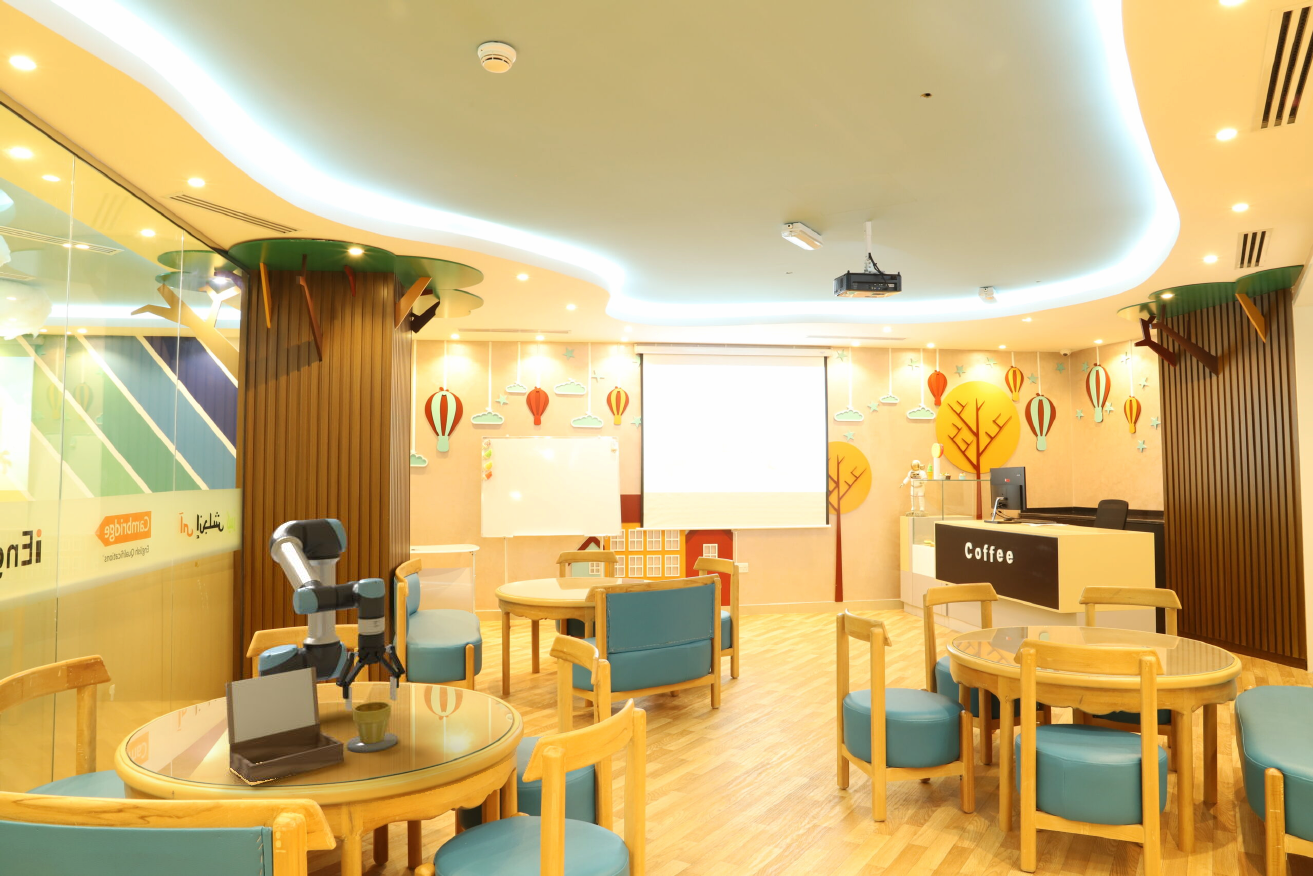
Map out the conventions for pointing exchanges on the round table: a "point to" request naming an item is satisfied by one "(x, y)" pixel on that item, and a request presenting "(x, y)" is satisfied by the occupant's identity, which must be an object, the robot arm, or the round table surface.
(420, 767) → the round table surface
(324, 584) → the robot arm
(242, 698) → the lid
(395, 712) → the round table surface
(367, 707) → the plant pot
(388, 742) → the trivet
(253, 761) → the cold frame
